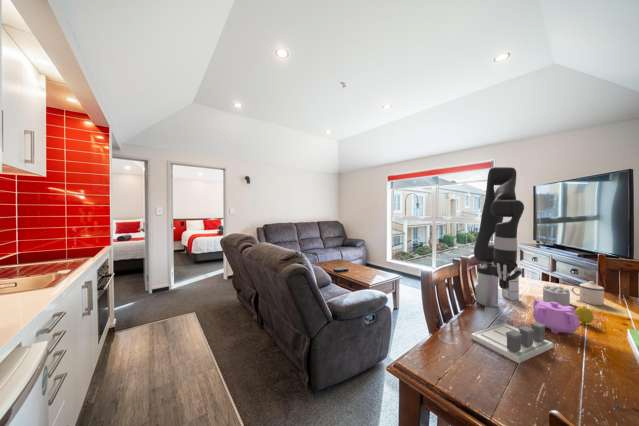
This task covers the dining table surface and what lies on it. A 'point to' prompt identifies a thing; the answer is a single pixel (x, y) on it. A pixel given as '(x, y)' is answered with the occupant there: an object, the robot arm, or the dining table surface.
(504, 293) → the syrup box
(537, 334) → the handle
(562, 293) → the lumpy-topped squat cylinder
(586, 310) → the lemon
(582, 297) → the teacup with lid
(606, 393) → the dining table surface
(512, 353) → the panel
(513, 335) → the grey upright block
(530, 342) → the handle middle
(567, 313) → the purple rounded body
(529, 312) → the dining table surface
